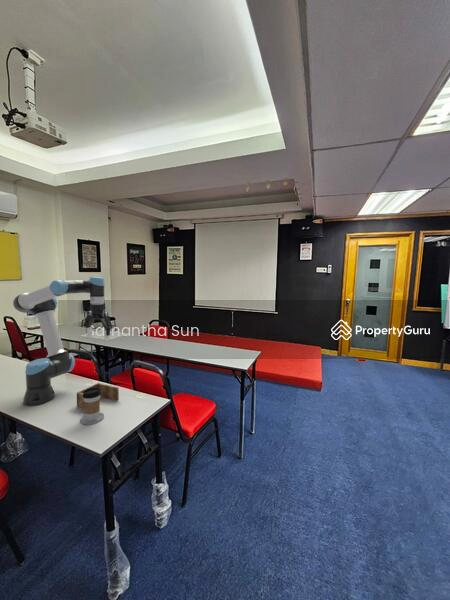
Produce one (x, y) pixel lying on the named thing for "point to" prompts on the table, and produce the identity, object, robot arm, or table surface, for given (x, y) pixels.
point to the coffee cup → (92, 403)
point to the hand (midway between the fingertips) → (98, 339)
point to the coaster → (86, 422)
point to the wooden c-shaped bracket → (106, 392)
